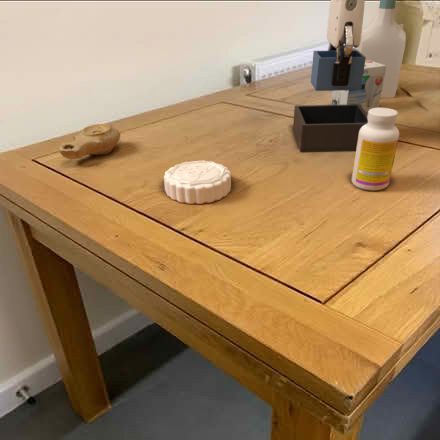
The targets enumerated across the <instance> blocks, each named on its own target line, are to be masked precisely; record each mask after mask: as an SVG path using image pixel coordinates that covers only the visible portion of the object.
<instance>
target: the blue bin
mask: <svg viewBox="0 0 440 440" xmlns="http://www.w3.org/2000/svg"><path fill="white" fill-rule="evenodd" d="M341 52H342V51H340V55H341ZM312 54H313V55H312V66H311V75H310V84H311V85H312V87H313V88H314V90H315V92H326V91H327V92H331V91H332V92H333V91H342V90H361V85H362V78H363V72H364V66H365V60H366V57H365V56H364V55H362V54H361V53H360V52H359V51H358V50H352V60H351V68H350V75H349V82H348V85H347V86H332V75H333V67H334V63H336V51H328V50H313V53H312Z"/></svg>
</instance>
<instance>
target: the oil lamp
mask: <svg viewBox="0 0 440 440" xmlns="http://www.w3.org/2000/svg"><path fill="white" fill-rule="evenodd" d="M72 137H73V140H72V141H69V142H62V143H60V146H59V147H58V151H59V153H60V155H61V156H62V157H63V158H66V159H70V160H75V159H81V158H83V157H85V156H89V155H95V156H100V155H106V154H109V153H111V152H112V151H113V149H114V148H115V147H116V146H117V145H118V143H119V142H120V139H121V131H119V129H117V128H116V127H115V126H113V125H111V124H106V123H95V124H92V125H88V126H86V127H84V128H82V130H81V132H79V133H78V134H75V135H73V136H72Z"/></svg>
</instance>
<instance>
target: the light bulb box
mask: <svg viewBox="0 0 440 440" xmlns="http://www.w3.org/2000/svg"><path fill="white" fill-rule="evenodd" d="M385 71H386V65H383V64H380V63H376V62H374V61H371V60H368V61H365V66H364V72H363V78H362V85H361V90H342V91H332V94H331V101H330V105H349V104H360V105H361V107H362V108H363V109H364V111H365V112H366V113H367V114H368V111H369V110H370V109H372V108H380V102H381V98H380V97H381V92H382V87H383V81H384V76H385Z"/></svg>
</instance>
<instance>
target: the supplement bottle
mask: <svg viewBox="0 0 440 440" xmlns="http://www.w3.org/2000/svg"><path fill="white" fill-rule="evenodd" d="M367 114H368V116H367V118H368V124H365V125H364V126H362V127H361V129H360V131H359V135H358V142H357V148H356V151H355V155H354V161H353V167H352V173H351V183H352V184H353V185H354V186H355V187H356V188H358V189H361V190H365V191H381V190H384V189H386V188H388V186H389V185H390V181H391V177H392V172H393V168H394V162H395V158H396V153H397V148H398V147H397V146H398V144H399V143H398V142H399V138H400V131H399V129H398V127H397V126H395V123H396V121H397V119H398V111H397V110H395V109H392V108H388V107H379V108H372V109H370V110H369V111H368V113H367Z"/></svg>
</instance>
